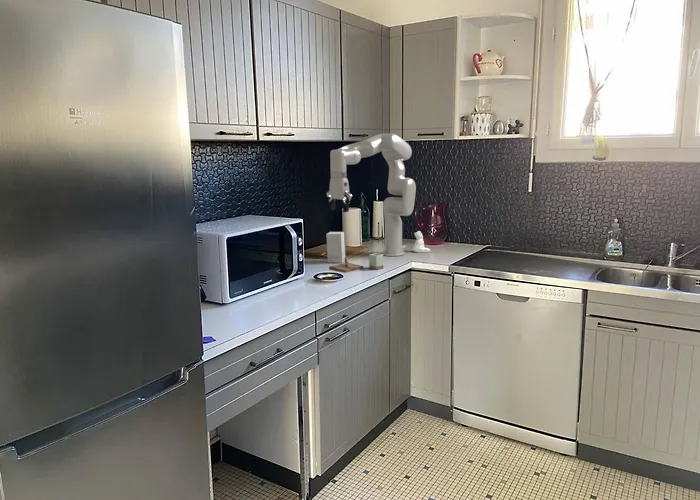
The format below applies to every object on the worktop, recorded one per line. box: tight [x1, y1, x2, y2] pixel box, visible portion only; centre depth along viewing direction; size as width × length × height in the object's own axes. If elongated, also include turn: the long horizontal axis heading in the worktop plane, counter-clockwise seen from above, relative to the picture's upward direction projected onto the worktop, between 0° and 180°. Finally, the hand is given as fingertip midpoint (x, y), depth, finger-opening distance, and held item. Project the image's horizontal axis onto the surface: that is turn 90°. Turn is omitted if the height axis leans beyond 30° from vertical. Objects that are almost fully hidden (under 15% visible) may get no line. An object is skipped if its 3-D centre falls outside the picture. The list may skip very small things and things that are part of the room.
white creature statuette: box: [412, 230, 431, 254], centre depth 302 cm, size 10×9×12 cm
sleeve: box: [368, 252, 384, 271], centre depth 265 cm, size 5×5×7 cm
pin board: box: [328, 256, 365, 273], centre depth 266 cm, size 12×12×6 cm
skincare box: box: [325, 231, 346, 264], centre depth 280 cm, size 8×7×16 cm
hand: (339, 211), depth 261 cm, fingers open, 9 cm apart
